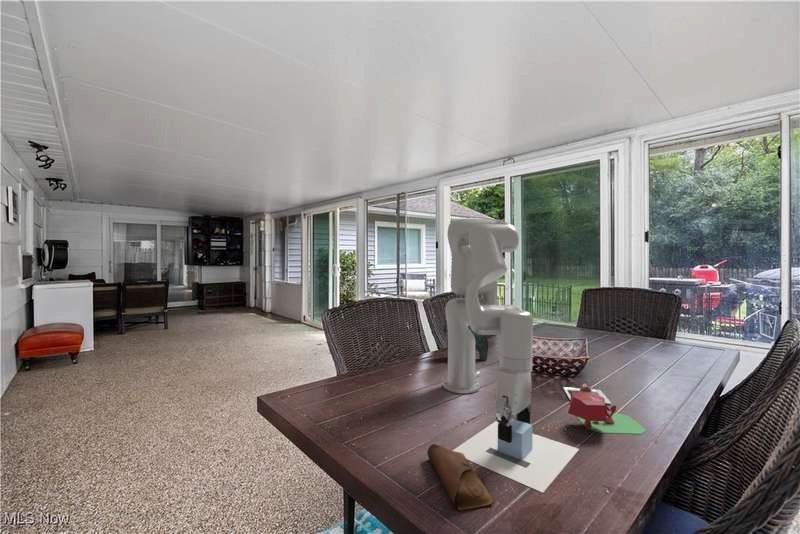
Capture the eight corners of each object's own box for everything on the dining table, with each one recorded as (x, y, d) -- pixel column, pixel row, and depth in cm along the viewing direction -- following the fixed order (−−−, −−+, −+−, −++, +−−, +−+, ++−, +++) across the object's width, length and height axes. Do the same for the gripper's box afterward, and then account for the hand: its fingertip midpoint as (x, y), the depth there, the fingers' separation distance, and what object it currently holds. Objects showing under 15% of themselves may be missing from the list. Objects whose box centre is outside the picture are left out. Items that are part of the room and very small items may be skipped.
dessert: (611, 407, 114) (611, 391, 114) (569, 403, 117) (570, 388, 117) (600, 392, 126) (600, 379, 126) (562, 390, 128) (562, 376, 128)
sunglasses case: (497, 502, 68) (480, 474, 67) (467, 526, 67) (449, 498, 66) (461, 451, 86) (447, 429, 85) (437, 470, 85) (422, 448, 84)
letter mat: (495, 421, 103) (495, 421, 103) (579, 449, 88) (579, 448, 88) (450, 452, 87) (450, 451, 87) (543, 493, 72) (543, 492, 72)
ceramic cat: (443, 359, 164) (443, 315, 164) (443, 355, 171) (443, 313, 170) (488, 361, 161) (488, 316, 160) (487, 357, 167) (487, 314, 167)
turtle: (555, 411, 110) (555, 382, 109) (625, 413, 108) (625, 383, 108) (575, 436, 95) (575, 401, 94) (656, 439, 93) (657, 404, 93)
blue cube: (508, 441, 92) (508, 417, 91) (532, 449, 88) (532, 424, 88) (497, 450, 87) (497, 426, 87) (522, 460, 83) (522, 434, 83)
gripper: (516, 351, 96) (515, 416, 97) (482, 367, 83) (481, 441, 84) (545, 357, 91) (544, 425, 92) (513, 375, 78) (512, 453, 79)
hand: (514, 432), depth 88 cm, fingers open, 9 cm apart
